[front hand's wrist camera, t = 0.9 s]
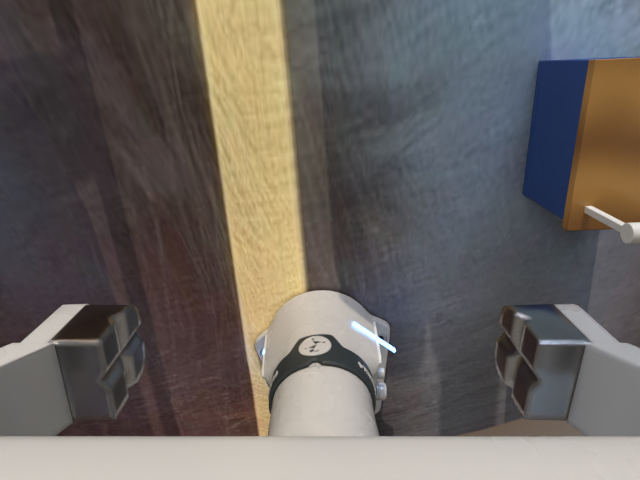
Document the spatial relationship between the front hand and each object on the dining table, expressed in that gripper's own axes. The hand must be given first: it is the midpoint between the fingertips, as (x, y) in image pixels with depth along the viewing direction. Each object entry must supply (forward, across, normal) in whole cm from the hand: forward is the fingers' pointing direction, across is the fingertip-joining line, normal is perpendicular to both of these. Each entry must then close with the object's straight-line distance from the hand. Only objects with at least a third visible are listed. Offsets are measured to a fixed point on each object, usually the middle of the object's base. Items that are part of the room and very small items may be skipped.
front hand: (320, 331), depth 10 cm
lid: (+35, +29, -1) cm, 46 cm away
